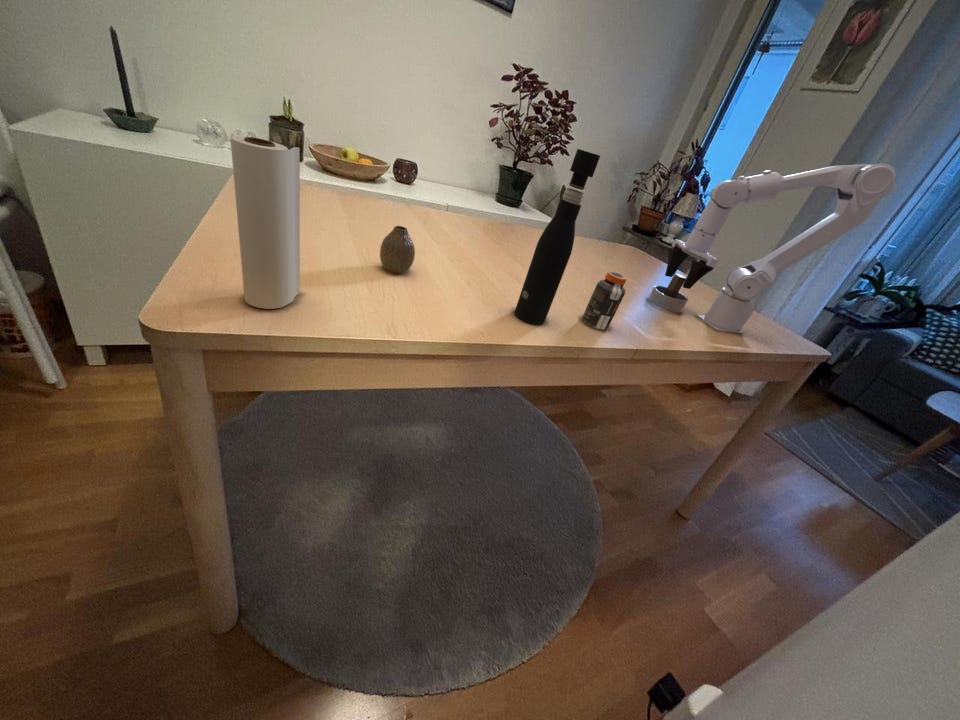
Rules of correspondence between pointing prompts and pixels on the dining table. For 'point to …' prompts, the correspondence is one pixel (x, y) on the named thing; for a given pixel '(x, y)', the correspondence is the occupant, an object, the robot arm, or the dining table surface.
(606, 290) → the pill bottle
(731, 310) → the robot arm
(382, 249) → the vase
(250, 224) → the paper towel roll
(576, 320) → the dining table surface
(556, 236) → the black water bottle
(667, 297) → the tin
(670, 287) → the stick
